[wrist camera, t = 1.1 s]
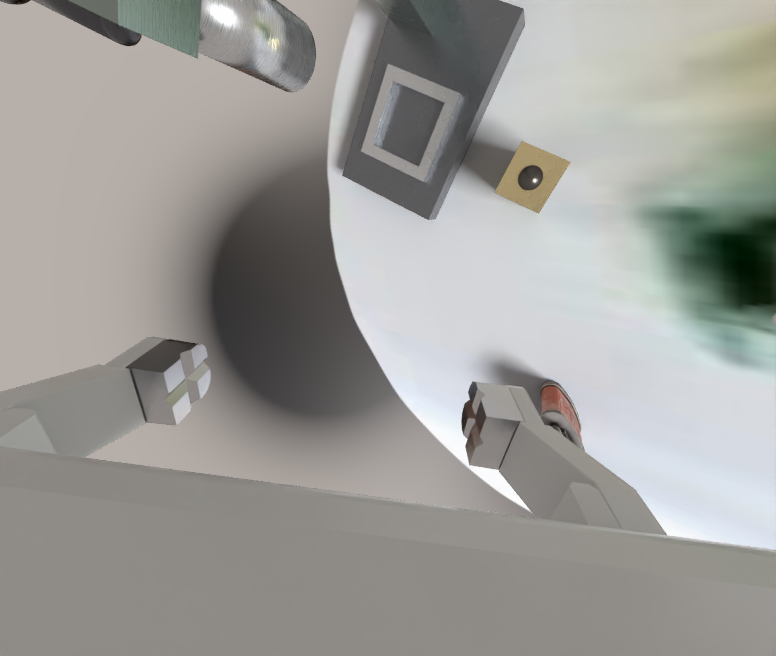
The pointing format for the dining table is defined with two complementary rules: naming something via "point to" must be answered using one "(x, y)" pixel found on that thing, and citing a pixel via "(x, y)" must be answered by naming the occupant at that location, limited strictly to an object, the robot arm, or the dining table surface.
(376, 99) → the press
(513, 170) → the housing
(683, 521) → the dining table surface
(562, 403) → the lighter
